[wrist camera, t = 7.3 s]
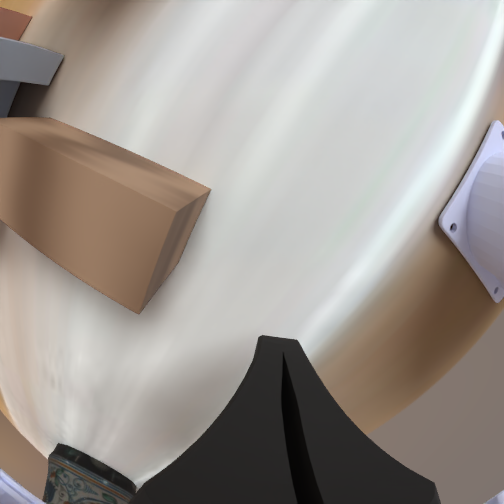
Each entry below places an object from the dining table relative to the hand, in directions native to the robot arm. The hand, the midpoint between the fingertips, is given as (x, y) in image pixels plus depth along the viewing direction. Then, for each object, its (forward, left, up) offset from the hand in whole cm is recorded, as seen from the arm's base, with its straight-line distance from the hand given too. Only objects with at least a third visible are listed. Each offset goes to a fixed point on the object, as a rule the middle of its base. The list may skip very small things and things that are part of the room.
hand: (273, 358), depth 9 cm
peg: (+10, 0, -5) cm, 12 cm away
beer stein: (0, +48, -5) cm, 48 cm away
